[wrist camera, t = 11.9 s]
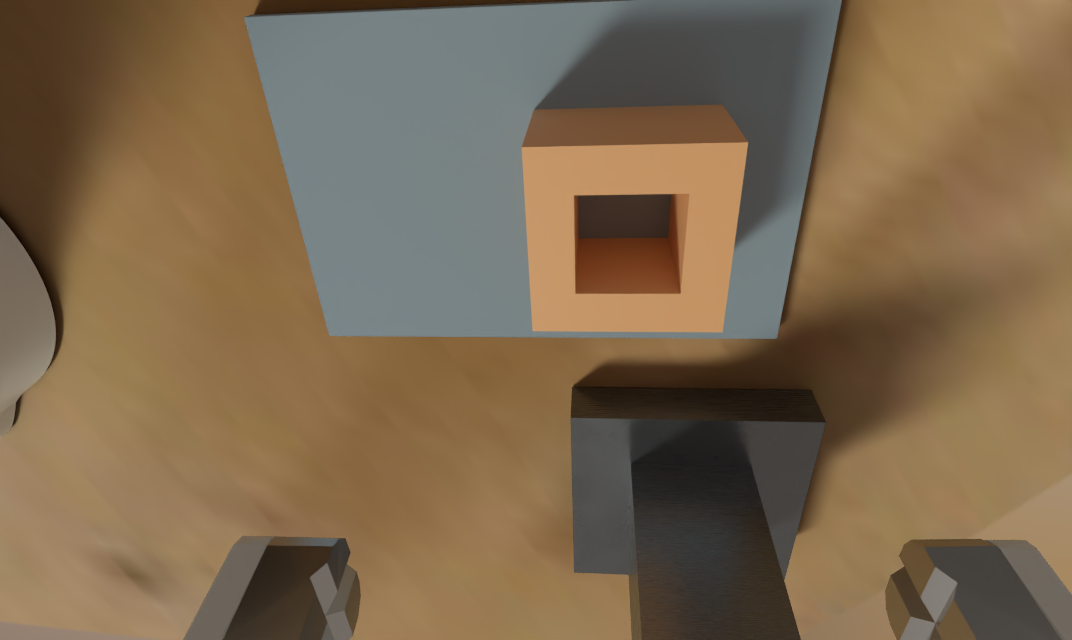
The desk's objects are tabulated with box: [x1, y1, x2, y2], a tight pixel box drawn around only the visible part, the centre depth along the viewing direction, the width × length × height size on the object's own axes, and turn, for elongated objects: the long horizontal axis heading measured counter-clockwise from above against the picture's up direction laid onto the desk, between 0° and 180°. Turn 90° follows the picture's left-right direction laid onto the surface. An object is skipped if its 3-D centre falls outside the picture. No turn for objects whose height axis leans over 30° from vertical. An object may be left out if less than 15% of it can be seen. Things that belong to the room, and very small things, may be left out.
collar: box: [522, 105, 748, 332], centre depth 20 cm, size 6×6×4 cm
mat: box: [244, 0, 842, 339], centre depth 22 cm, size 18×12×1 cm, turn 93°
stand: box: [571, 387, 826, 640], centre depth 23 cm, size 10×10×14 cm
